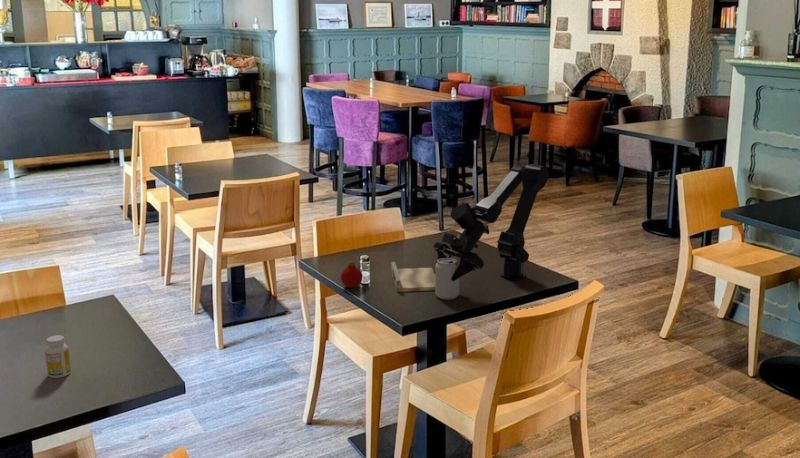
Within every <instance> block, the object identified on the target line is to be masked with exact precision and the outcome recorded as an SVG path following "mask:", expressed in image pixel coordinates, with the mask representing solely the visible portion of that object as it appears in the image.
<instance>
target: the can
mask: <svg viewBox="0 0 800 458" xmlns="http://www.w3.org/2000/svg"><path fill="white" fill-rule="evenodd" d="M436 261H437V262H438V263H437V262H436V264H435V269H434V274H435V290H434V291H435V292H434V293H435V295H436V297H438V298H439V299H440V300H441V299H442V300H445V301H446V300H454V299H456V298H457V297H458V296H459V295H460V278H458V279H457V280H455V281H452V280H451V278H452V276H453V274H454V273H455V271H456V269H457V268H458V266H459V264H460V263H458V260H457V259H456V258H453V257H451V258H441V259H438V258H437V260H436Z"/></svg>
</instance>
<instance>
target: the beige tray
mask: <svg viewBox="0 0 800 458" xmlns="http://www.w3.org/2000/svg"><path fill="white" fill-rule="evenodd" d="M391 275H392V280H393V283H394V286H395V290H396V293H400V292H426V291H427V292H428V291H435V271H434V270H433V268H432V267H418V268H417V267H416V268H415V267H414V268H397V263H396V261H391Z"/></svg>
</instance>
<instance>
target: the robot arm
mask: <svg viewBox="0 0 800 458" xmlns="http://www.w3.org/2000/svg"><path fill="white" fill-rule="evenodd" d="M549 178H550V172H549V169H548V168H547V166H545V165H544V166H543V165H539V164H534V163H533V164H532V163H529V164H527V165H525V166H512V167H511V168H510V170H509V173H508V174H507V175H506V176H505V177H504V179H502V181H501V182H500V184H498V186H497V187H496V188H495V190H494V191H493V192H491V194H490V195H488V196H487V197H484V198H482V199H481V200H480V201H478V203H476V204H475V205H474V206H473V207H471V205H470V204H469V203H468V202H466V201H462V203H461V204H459V205H456V206H455V207H453V208H452V210H451V212H450V217H451V219H452V220H453V221H454V222H455V223H456V224H457V225H458V227H459V228H461V229H462V233H459V232H458V233H457V234H456V235H455V234H452V233H449V232H446V231H445V232H444V233H443V236H442V239H441V241H437V242H435V243H434V245H433V246H432V248H433V249H434V251H435V252H436V254H437V260H438V259H441V258H453V257H454V258H457V259H459V263H458V264H459V266H458V268H457V269H456V271H455V273H454V274H453V276H452V278H451V280H452V281H455V280H457V279H458V278H459V279H460V278H462V277H464V276H465V275H466V274H469V273H471V272H473V271H476V270H479V271H481V270H482V269H483V267H484V266H485V265H484V264H485V263H484V262H485V261H484V260H483V259H482V258H481V257H480V255H478V253H476V252H473V250H474V249H476V250H477V249H478V247H479V245H477V244H478V242H479V241H480V239H481V238H482V236H483V235H484V234H487V235H490V229H489V228H490V227H489V225H487V224H484V223H483V222H485V223H488V224H494V223H495V222H496V221H497V220H498V218H499V217H500V216H501V213H502V211H503V205H504V203H506V201H507V200H509V198H510V196H511V195H512V194H513V193H514V192H515V190H516V189H517V188H518V187H519V186H520V184H521V183H522V190H521V194H520V196H519V199H518V202H517V205H516V207H515V210H514V212H513V213H514V214H513V216H512V220H511V222H510V225H509V228H507V229H506V230H505V231H501V232H500V233H499V238H498V240H497V242H496V243H497V245H496V246H497V247H496V249H497V251H498V254H499V257H500V259H502V258H503V259H504V261H503V262H504V263H503V273H501V274H500V276H499V277H502V278H505V279H508V280H512V281H517V280H520V279H523V278H526V277H527V274H525V273H524V263H526V262H528V261H529V258H530V253H529V252H528V251H527V250H526V249H525V244H526V241H525V235H524V232H525V228H526V227H527V224H528V221H529V218H530V215H531V212H532V210H533V209H532V208H533V207H534V204H535V200H536V197H537V195H538V193H539V192H540V191H541V190H542V189H543V188H545V186H546V184H547V182H548V181H549ZM437 263H438V262H436V264H437Z"/></svg>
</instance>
